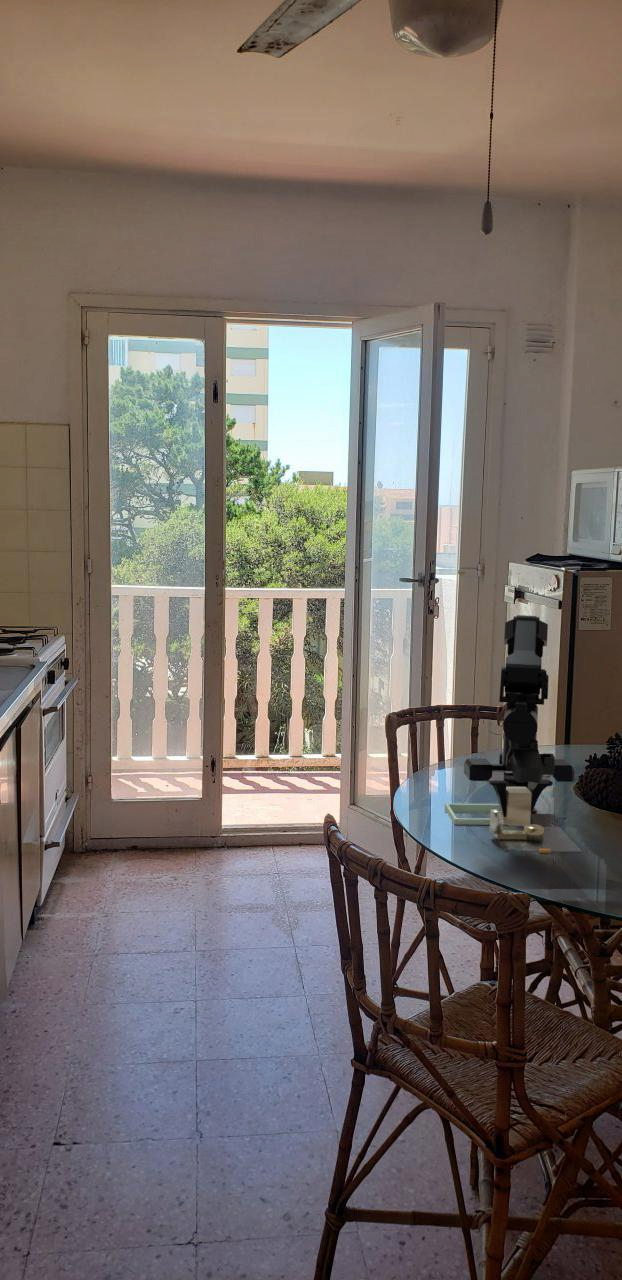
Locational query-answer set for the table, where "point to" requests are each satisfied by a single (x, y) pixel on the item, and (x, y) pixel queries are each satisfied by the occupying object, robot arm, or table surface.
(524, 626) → the robot arm
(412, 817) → the table surface
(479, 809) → the tray
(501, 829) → the crank
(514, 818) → the block
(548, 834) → the crank base
